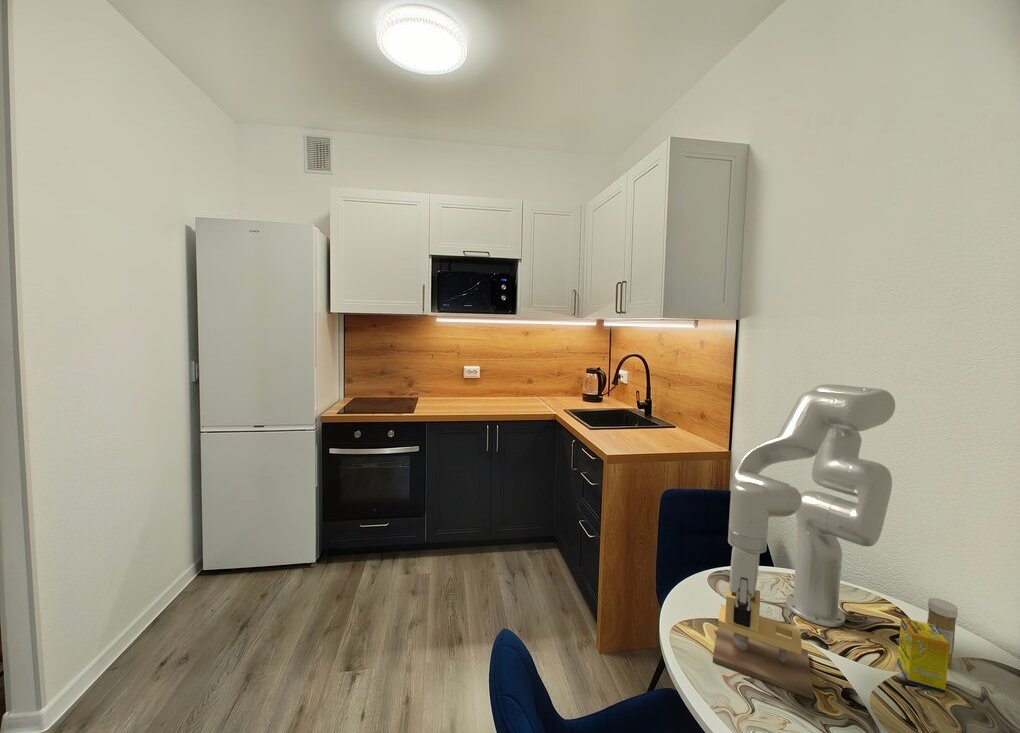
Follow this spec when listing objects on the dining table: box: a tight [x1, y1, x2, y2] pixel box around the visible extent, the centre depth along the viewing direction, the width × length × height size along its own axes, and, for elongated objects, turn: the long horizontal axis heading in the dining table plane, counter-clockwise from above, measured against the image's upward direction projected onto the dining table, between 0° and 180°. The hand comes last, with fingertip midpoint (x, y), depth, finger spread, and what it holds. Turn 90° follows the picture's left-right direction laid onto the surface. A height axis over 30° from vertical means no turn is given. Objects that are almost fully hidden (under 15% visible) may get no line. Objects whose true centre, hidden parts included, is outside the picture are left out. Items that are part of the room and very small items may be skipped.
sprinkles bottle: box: [926, 597, 959, 668], centre depth 94 cm, size 5×5×14 cm
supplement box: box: [896, 617, 950, 694], centre depth 89 cm, size 6×6×11 cm
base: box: [712, 626, 814, 700], centre depth 94 cm, size 14×18×5 cm
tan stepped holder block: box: [717, 581, 803, 654], centre depth 94 cm, size 16×7×8 cm, turn 59°
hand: (742, 614), depth 95 cm, fingers closed on tan stepped holder block, 6 cm apart
